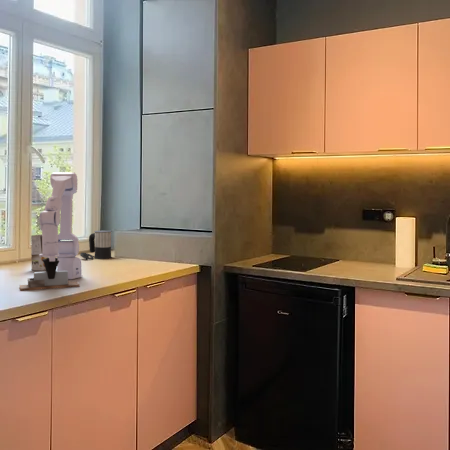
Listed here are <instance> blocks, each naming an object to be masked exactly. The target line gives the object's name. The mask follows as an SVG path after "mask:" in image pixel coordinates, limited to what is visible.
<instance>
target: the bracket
mask: <svg viewBox="0 0 450 450" xmlns="http://www.w3.org/2000/svg"><path fill="white" fill-rule="evenodd" d="M65 288H80V283H79V282H78V281H77V280H76V281H68V284H66V285H51V286H45V280H34V277H31V278H27V284H19V290H20V291H21V292H23V291H35V290H36V291H37V290H51V289H65Z"/></svg>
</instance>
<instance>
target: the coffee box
mask: <svg viewBox="0 0 450 450" xmlns="http://www.w3.org/2000/svg"><path fill="white" fill-rule="evenodd" d="M30 237H31V238H30V240H31V241H30V242H31V245H30V246H31V247H30V248H31V251H30V253H31V254H30V255H31V256H30V257H31V271H38V272H45V271H46V268H45V265H44V262H43V260H42V259H47V257H42V256H39V254H42V234H34V235H30Z"/></svg>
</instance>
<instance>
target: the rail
mask: <svg viewBox="0 0 450 450" xmlns="http://www.w3.org/2000/svg"><path fill="white" fill-rule="evenodd" d="M33 278H34V280H45V286H51V285H66V284H68V282H69V279H68V271H57V270H56V273H55V278H54V279H48V275H47V272H46V271H34V272H33Z"/></svg>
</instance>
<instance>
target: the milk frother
mask: <svg viewBox="0 0 450 450" xmlns="http://www.w3.org/2000/svg"><path fill="white" fill-rule="evenodd" d="M88 246H89V253H88V252H81V253H79V254H80V255H79V256H80V257H81V258H83V259H85V260H86V261H87V260H93V259H96V260H101V259H103V260H106V259H112V230H94V232H92V233H91V234H89V236H88ZM90 253H94V255H92V254H90Z"/></svg>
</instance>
